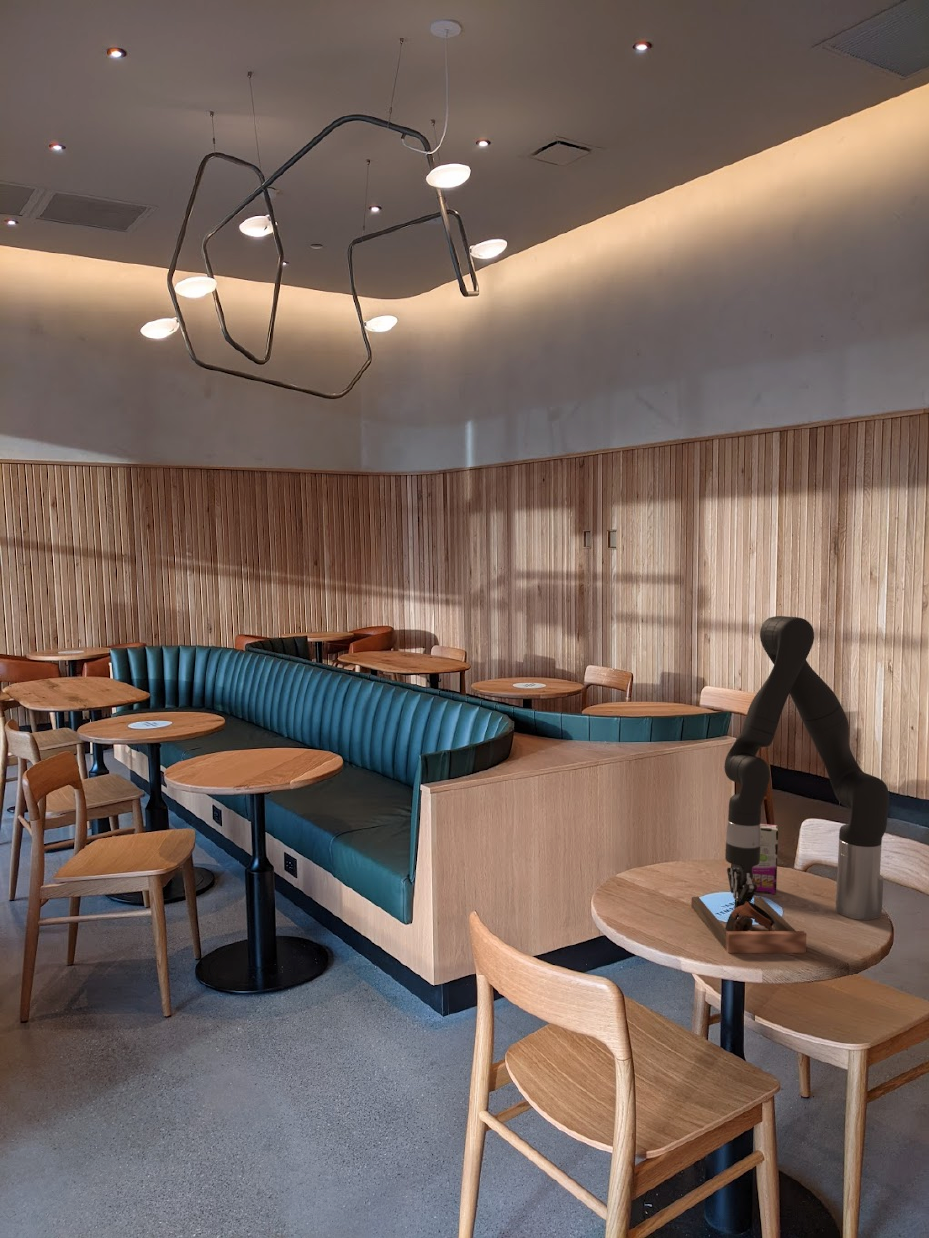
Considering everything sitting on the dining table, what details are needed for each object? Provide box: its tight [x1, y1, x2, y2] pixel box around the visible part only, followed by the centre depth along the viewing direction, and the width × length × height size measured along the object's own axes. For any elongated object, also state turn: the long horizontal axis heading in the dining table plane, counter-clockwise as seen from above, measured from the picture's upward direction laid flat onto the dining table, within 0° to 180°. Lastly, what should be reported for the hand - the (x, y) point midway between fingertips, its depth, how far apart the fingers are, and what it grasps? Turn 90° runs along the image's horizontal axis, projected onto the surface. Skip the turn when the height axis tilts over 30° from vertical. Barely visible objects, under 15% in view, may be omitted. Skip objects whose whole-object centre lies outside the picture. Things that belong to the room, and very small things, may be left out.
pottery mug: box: [724, 901, 775, 931], centre depth 206 cm, size 12×10×8 cm
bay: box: [690, 896, 807, 954], centre depth 211 cm, size 17×26×4 cm, turn 3°
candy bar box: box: [730, 823, 779, 895], centre depth 236 cm, size 11×5×16 cm, turn 73°
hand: (739, 916), depth 214 cm, fingers closed
